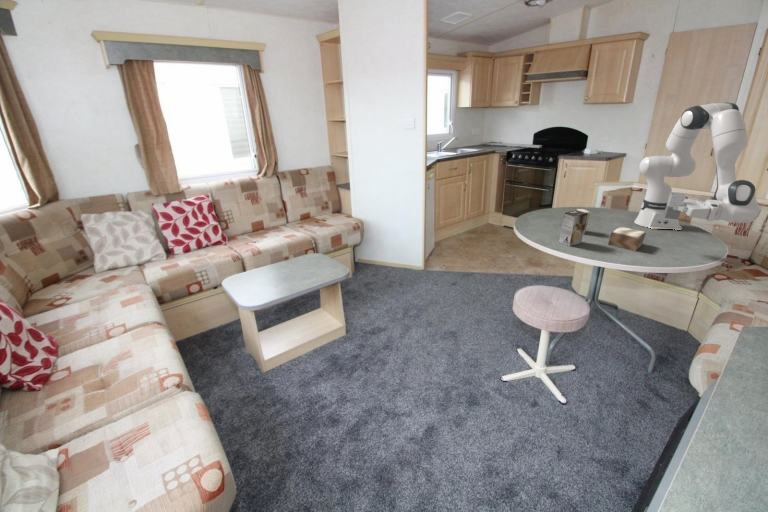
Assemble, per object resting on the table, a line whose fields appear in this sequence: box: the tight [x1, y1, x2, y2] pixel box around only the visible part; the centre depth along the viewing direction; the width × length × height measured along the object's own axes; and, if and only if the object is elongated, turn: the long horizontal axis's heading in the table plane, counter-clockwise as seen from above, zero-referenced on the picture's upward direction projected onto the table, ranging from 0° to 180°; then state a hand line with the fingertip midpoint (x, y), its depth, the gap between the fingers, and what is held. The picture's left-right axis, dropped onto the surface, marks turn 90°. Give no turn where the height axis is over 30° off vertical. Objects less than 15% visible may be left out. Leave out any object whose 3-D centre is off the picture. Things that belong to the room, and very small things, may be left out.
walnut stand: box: [608, 226, 647, 252], centre depth 180 cm, size 12×12×7 cm
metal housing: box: [663, 192, 687, 219], centre depth 167 cm, size 5×5×11 cm
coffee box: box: [558, 209, 588, 247], centre depth 181 cm, size 9×6×16 cm
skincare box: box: [576, 208, 591, 234], centre depth 197 cm, size 6×4×12 cm
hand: (671, 205), depth 168 cm, fingers closed on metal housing, 5 cm apart
